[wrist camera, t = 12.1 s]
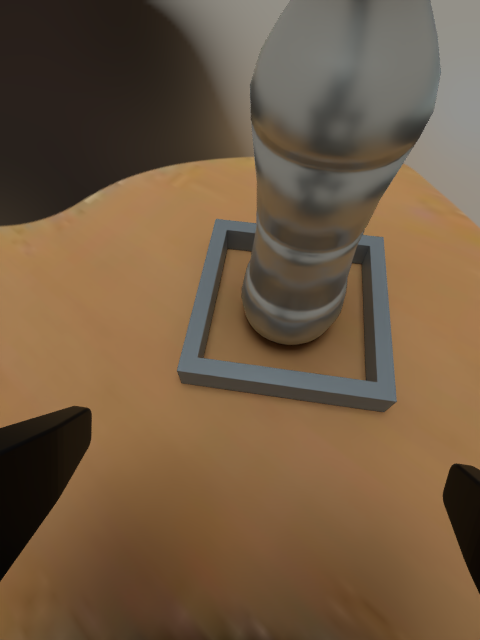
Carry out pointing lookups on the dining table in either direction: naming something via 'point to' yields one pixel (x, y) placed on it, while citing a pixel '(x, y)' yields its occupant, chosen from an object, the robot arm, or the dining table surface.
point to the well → (288, 383)
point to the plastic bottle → (329, 147)
